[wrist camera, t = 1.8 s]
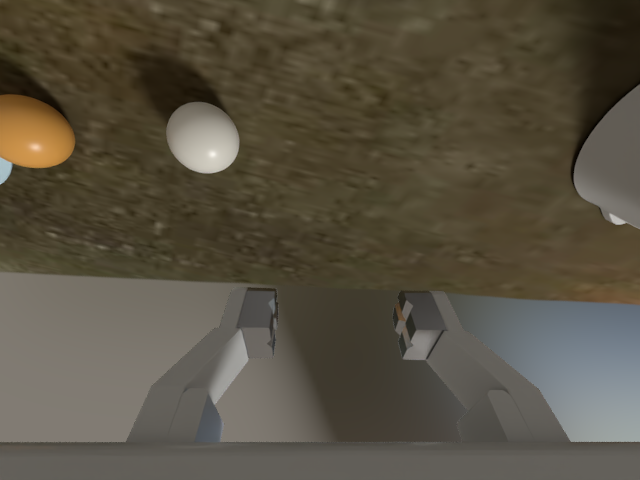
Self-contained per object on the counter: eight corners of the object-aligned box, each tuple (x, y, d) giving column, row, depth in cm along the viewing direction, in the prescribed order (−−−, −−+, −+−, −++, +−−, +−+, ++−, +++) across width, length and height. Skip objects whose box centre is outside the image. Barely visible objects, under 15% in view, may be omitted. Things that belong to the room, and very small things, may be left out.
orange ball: (56, 80, 22) (-7, 95, 18) (103, 146, 25) (60, 172, 21) (-1, 96, 23) (-74, 113, 18) (53, 158, 26) (1, 185, 22)
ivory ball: (230, 88, 22) (210, 103, 18) (253, 151, 26) (241, 177, 22) (170, 103, 23) (136, 121, 19) (200, 163, 26) (178, 190, 22)
